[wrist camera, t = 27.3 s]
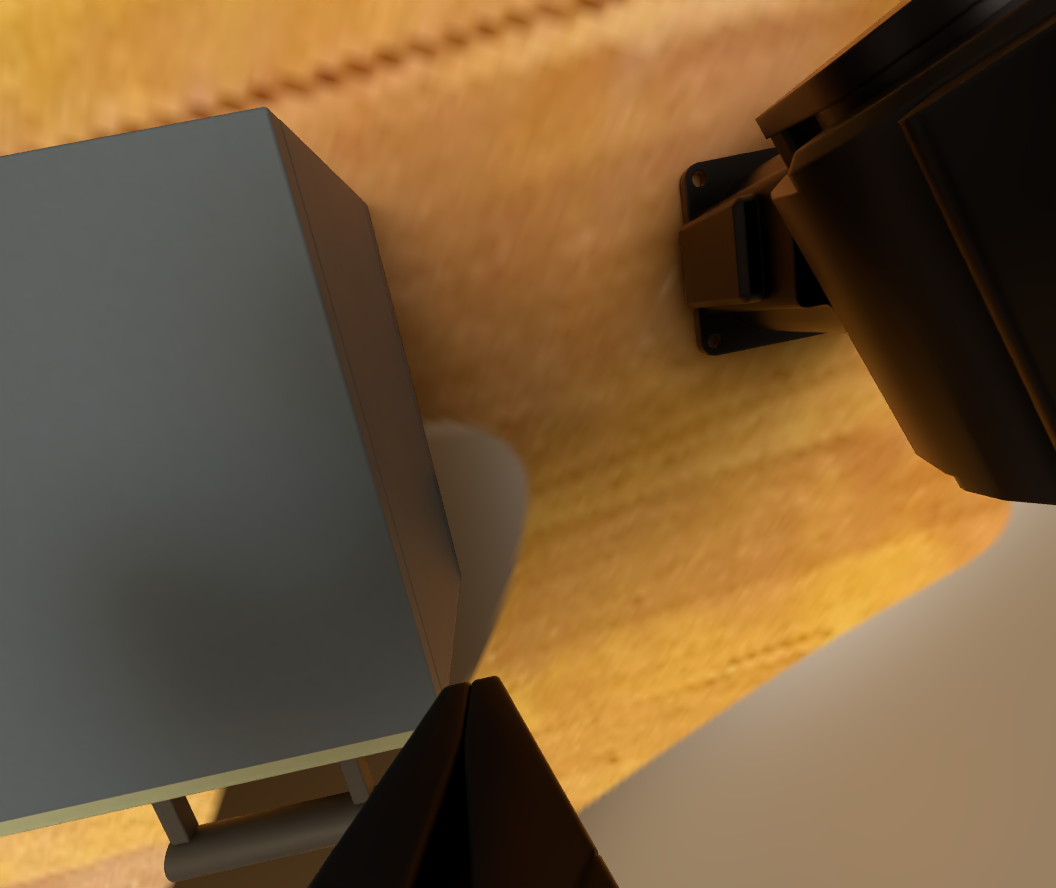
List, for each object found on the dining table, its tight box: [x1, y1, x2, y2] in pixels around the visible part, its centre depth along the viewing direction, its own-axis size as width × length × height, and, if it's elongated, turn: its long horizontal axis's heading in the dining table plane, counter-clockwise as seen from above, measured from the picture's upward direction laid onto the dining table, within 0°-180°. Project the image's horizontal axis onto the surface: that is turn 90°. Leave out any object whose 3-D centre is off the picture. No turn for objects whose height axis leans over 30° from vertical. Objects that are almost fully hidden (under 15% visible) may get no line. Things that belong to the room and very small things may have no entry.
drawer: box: [0, 731, 414, 882], centre depth 15 cm, size 18×13×6 cm
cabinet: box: [0, 107, 461, 822], centre depth 14 cm, size 14×14×8 cm
